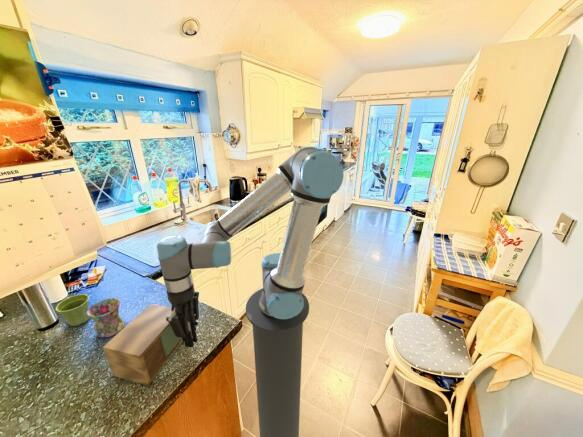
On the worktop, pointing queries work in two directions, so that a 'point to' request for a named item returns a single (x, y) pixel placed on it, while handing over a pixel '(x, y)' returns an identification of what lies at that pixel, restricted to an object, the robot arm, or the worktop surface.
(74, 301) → the plant pot
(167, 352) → the sliding door
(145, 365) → the cupboard
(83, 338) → the worktop surface
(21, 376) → the worktop surface
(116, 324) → the mug
